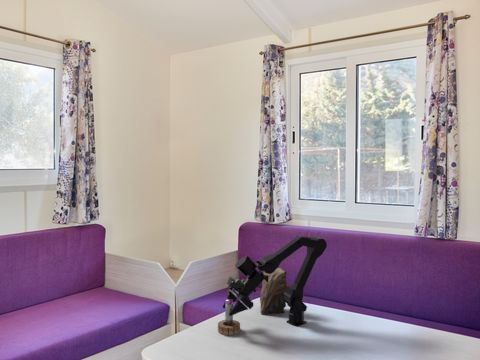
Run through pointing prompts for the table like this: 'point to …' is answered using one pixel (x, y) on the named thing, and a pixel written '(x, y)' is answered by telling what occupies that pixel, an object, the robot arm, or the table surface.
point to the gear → (228, 328)
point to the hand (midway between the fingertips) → (226, 311)
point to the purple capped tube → (227, 310)
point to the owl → (273, 293)
